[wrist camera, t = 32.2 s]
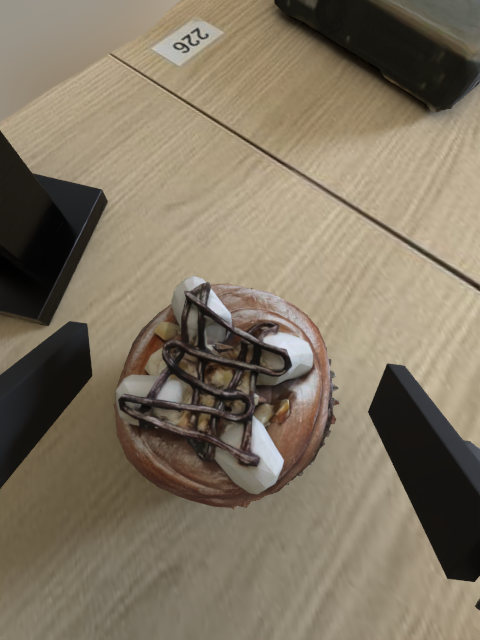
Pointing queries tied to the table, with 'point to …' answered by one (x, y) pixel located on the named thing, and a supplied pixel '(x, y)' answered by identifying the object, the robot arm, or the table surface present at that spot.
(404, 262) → the table surface
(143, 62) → the table surface
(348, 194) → the table surface
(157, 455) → the cupcake
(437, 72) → the network switch
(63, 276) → the switch bracket
